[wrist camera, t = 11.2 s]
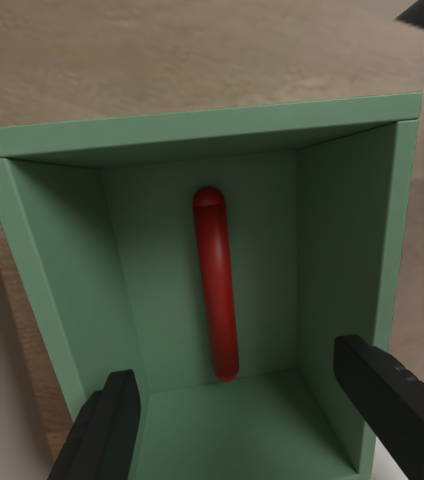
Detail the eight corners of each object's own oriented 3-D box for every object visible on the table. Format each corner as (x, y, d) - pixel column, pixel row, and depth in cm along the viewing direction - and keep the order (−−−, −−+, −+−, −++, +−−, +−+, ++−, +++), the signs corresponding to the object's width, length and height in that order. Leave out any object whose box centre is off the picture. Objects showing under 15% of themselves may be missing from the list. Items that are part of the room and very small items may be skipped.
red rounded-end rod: (212, 368, 18) (215, 391, 16) (189, 187, 14) (190, 188, 12) (236, 363, 18) (243, 385, 16) (220, 184, 14) (227, 184, 12)
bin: (87, 157, 13) (-36, 128, 6) (304, 136, 14) (424, 90, 7) (143, 395, 18) (113, 538, 11) (302, 368, 19) (371, 482, 12)
